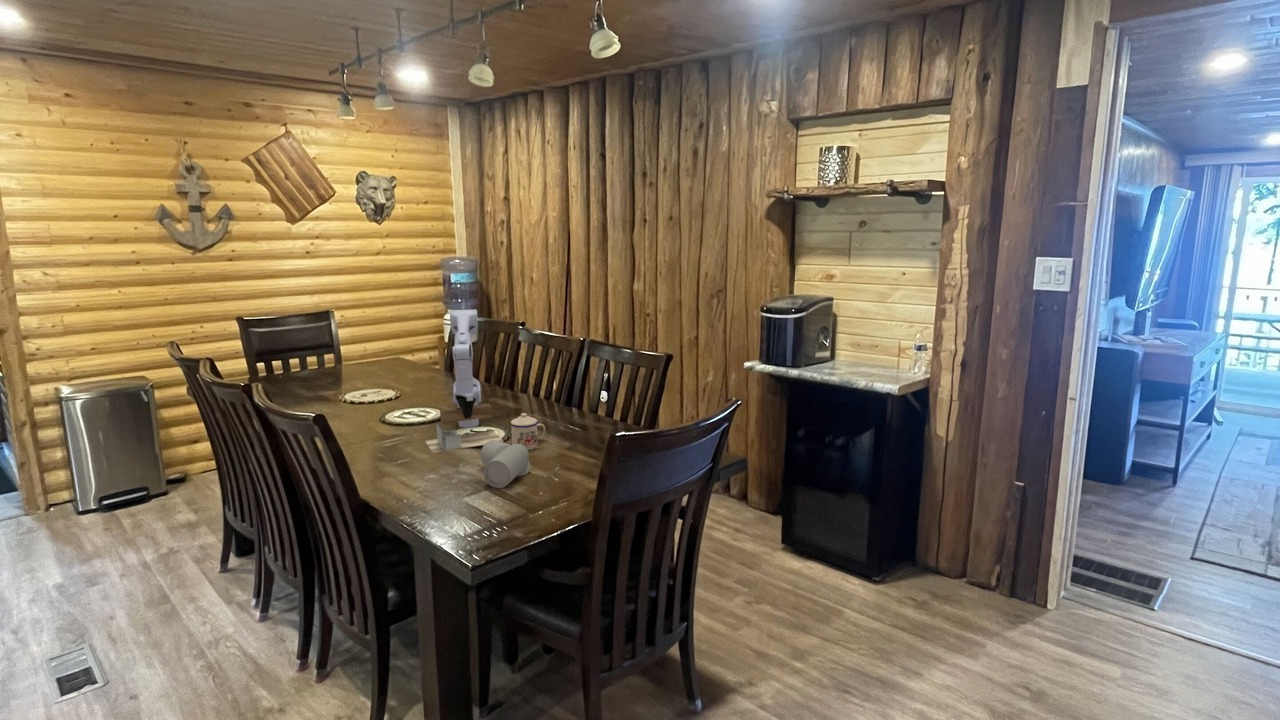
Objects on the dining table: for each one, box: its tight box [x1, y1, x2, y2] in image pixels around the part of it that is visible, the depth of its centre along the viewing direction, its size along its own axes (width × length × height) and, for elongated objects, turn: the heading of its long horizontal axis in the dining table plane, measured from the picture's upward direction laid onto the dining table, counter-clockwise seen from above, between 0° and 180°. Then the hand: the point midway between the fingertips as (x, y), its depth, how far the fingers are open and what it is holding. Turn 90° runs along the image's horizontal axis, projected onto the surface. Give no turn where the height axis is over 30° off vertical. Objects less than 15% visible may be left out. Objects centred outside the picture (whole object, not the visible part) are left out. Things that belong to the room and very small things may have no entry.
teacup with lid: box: [510, 412, 546, 451], centre depth 236 cm, size 12×9×12 cm
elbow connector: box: [480, 440, 531, 489], centre depth 210 cm, size 18×11×20 cm
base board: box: [424, 430, 505, 454], centre depth 240 cm, size 14×24×1 cm, turn 117°
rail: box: [439, 403, 493, 424], centre depth 242 cm, size 4×17×4 cm, turn 117°
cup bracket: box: [435, 424, 462, 452], centre depth 234 cm, size 8×6×7 cm
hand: (466, 416), depth 242 cm, fingers closed on rail, 3 cm apart
